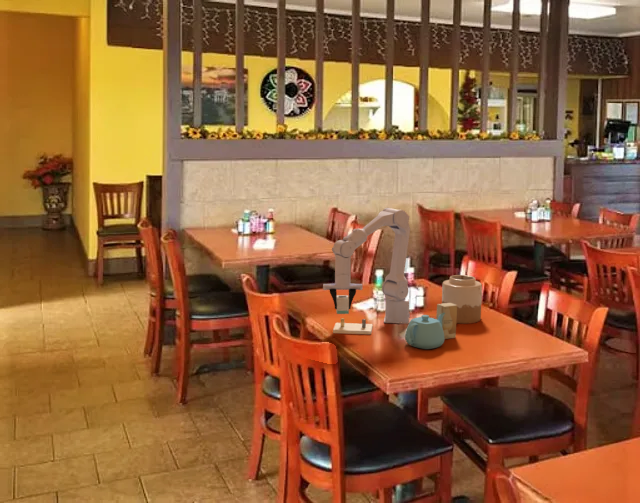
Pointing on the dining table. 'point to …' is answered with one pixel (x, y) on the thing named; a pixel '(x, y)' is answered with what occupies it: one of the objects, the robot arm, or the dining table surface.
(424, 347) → the teapot
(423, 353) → the dining table surface
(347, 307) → the teal banded block
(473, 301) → the vase
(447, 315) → the skincare box
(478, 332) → the dining table surface
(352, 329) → the pin board
